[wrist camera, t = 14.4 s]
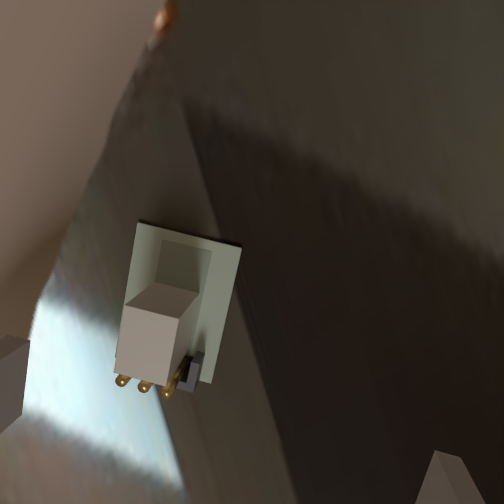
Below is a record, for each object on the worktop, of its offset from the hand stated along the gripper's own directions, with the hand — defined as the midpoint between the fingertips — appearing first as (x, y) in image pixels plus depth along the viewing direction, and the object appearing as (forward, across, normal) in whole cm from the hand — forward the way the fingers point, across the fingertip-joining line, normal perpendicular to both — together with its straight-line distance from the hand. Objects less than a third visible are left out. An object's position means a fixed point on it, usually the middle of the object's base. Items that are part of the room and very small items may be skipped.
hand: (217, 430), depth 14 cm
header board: (+27, -8, -7) cm, 29 cm away
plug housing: (+26, -8, -8) cm, 29 cm away
